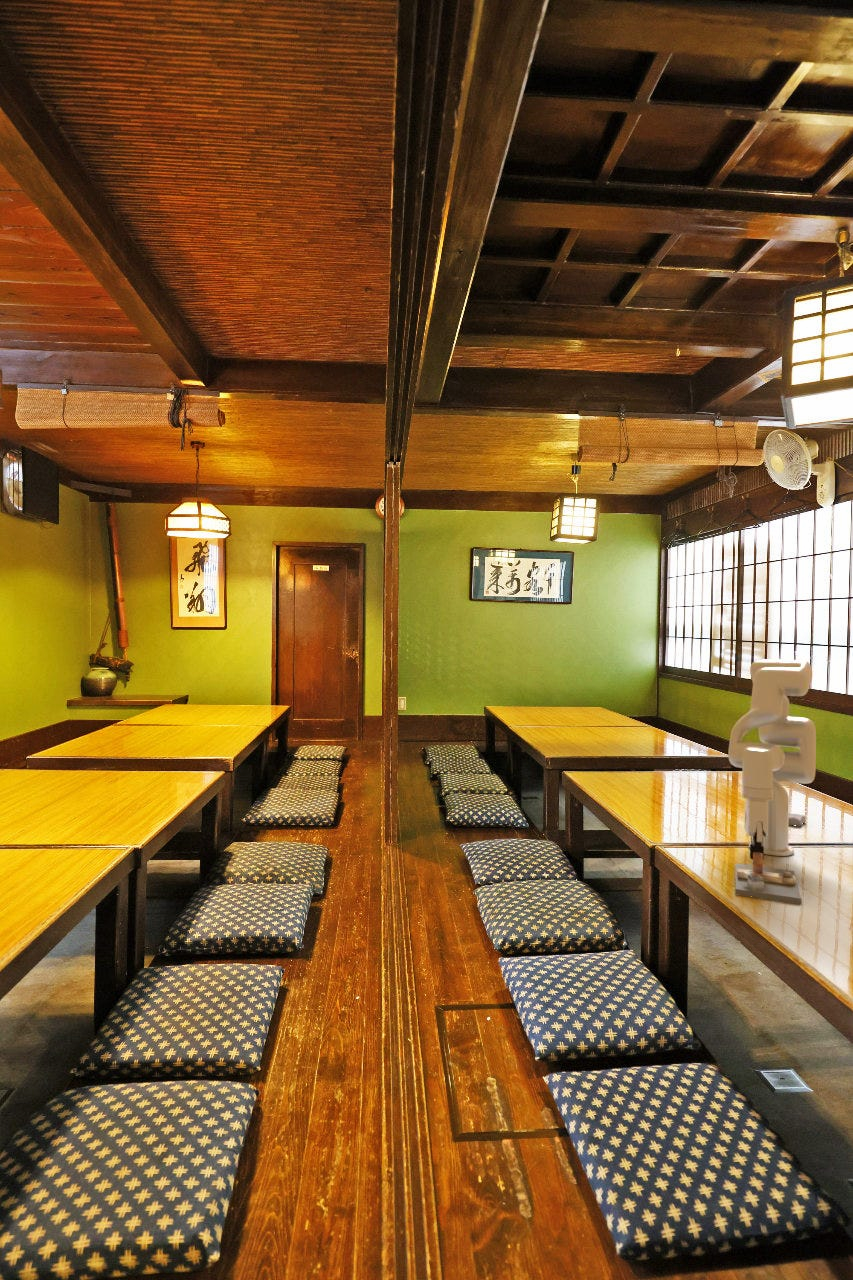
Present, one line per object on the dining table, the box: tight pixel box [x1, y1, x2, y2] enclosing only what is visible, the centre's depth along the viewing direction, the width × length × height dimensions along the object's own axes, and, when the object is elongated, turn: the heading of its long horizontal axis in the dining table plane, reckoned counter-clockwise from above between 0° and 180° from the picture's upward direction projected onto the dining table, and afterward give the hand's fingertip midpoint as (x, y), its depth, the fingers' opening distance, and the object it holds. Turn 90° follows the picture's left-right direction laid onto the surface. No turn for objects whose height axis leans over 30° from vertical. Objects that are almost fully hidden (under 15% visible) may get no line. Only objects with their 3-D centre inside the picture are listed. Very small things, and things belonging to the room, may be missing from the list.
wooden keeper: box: [742, 871, 764, 890], centre depth 177 cm, size 3×5×3 cm, turn 4°
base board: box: [734, 862, 802, 905], centre depth 183 cm, size 22×15×2 cm
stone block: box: [789, 813, 807, 827], centre depth 246 cm, size 12×5×10 cm
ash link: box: [737, 852, 796, 885], centre depth 182 cm, size 14×4×7 cm, turn 67°
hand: (756, 859), depth 186 cm, fingers closed
